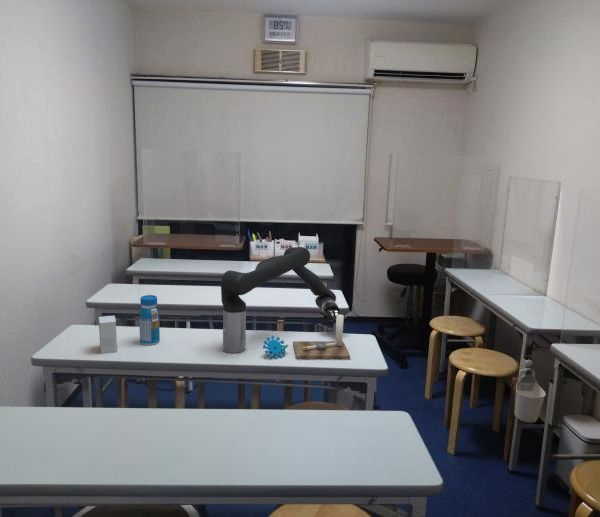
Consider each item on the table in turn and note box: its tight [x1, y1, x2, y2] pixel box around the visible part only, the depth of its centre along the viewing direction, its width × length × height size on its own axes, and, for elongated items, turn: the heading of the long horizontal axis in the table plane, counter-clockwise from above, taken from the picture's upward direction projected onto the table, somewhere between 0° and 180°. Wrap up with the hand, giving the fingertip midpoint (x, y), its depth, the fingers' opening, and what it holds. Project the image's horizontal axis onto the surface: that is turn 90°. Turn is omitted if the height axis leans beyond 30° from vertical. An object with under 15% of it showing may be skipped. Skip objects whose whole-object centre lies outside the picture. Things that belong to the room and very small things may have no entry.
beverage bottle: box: [138, 294, 161, 346], centre depth 215 cm, size 8×8×20 cm
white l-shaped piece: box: [302, 314, 345, 350], centre depth 212 cm, size 18×4×13 cm, turn 115°
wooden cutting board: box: [292, 340, 351, 361], centre depth 214 cm, size 22×16×2 cm
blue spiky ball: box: [262, 335, 289, 359], centre depth 209 cm, size 11×6×10 cm
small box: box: [98, 315, 118, 354], centre depth 207 cm, size 8×6×13 cm
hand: (336, 321), depth 224 cm, fingers closed
